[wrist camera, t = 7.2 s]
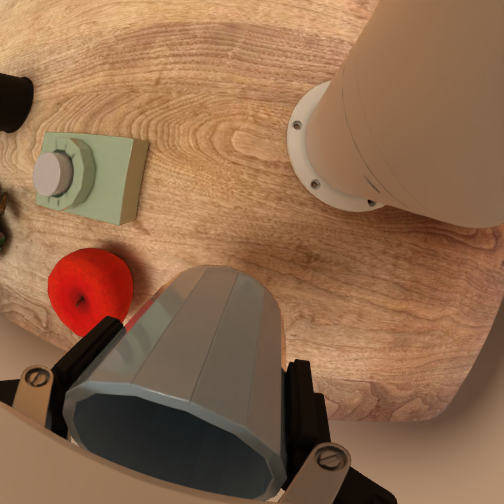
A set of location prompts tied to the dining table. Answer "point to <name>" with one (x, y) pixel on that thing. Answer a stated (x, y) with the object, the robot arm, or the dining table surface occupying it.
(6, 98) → the aerosol can
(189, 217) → the dining table surface
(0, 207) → the figurine
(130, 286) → the apple
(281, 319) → the cup
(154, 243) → the dining table surface
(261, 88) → the dining table surface
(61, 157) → the round grey push button
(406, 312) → the dining table surface
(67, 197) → the push button box
